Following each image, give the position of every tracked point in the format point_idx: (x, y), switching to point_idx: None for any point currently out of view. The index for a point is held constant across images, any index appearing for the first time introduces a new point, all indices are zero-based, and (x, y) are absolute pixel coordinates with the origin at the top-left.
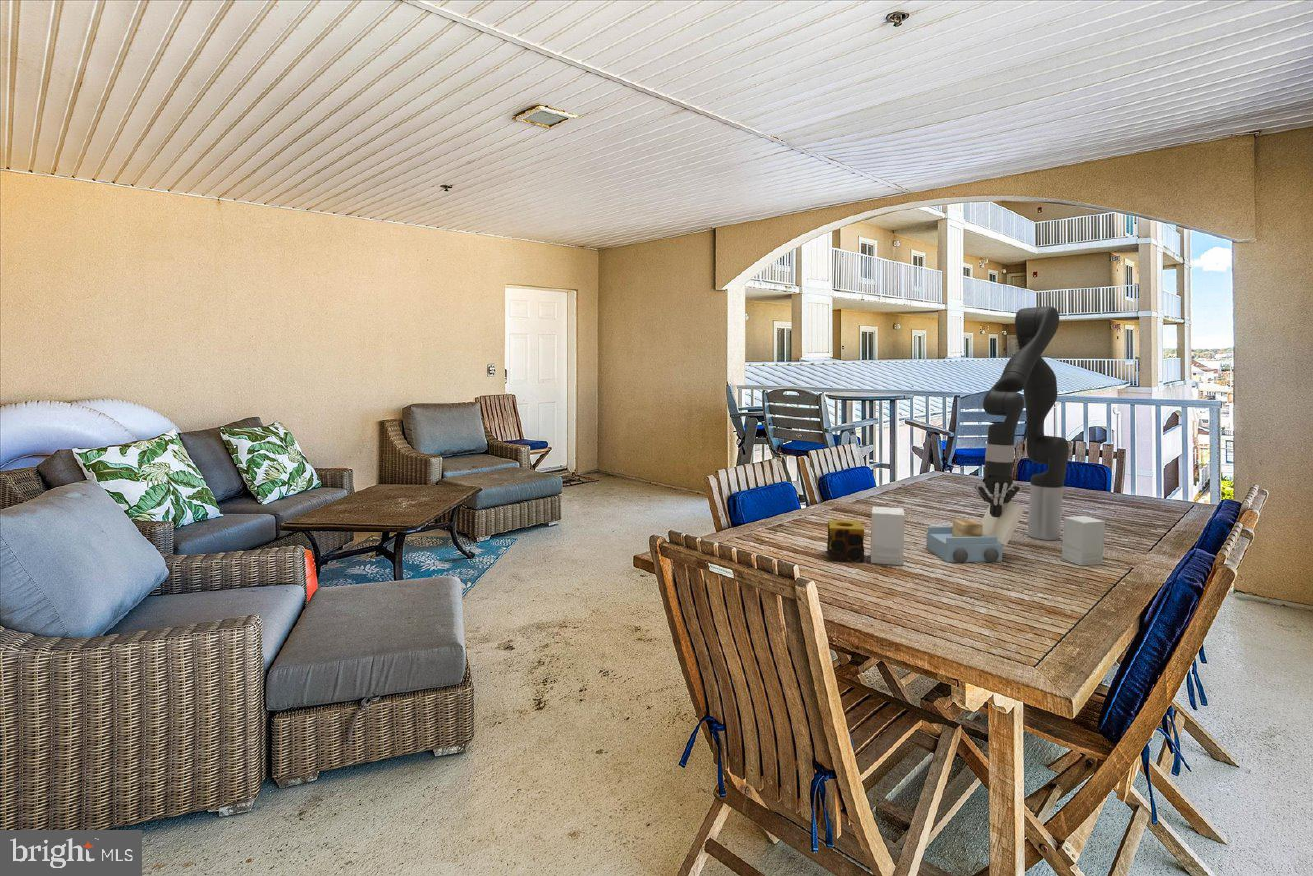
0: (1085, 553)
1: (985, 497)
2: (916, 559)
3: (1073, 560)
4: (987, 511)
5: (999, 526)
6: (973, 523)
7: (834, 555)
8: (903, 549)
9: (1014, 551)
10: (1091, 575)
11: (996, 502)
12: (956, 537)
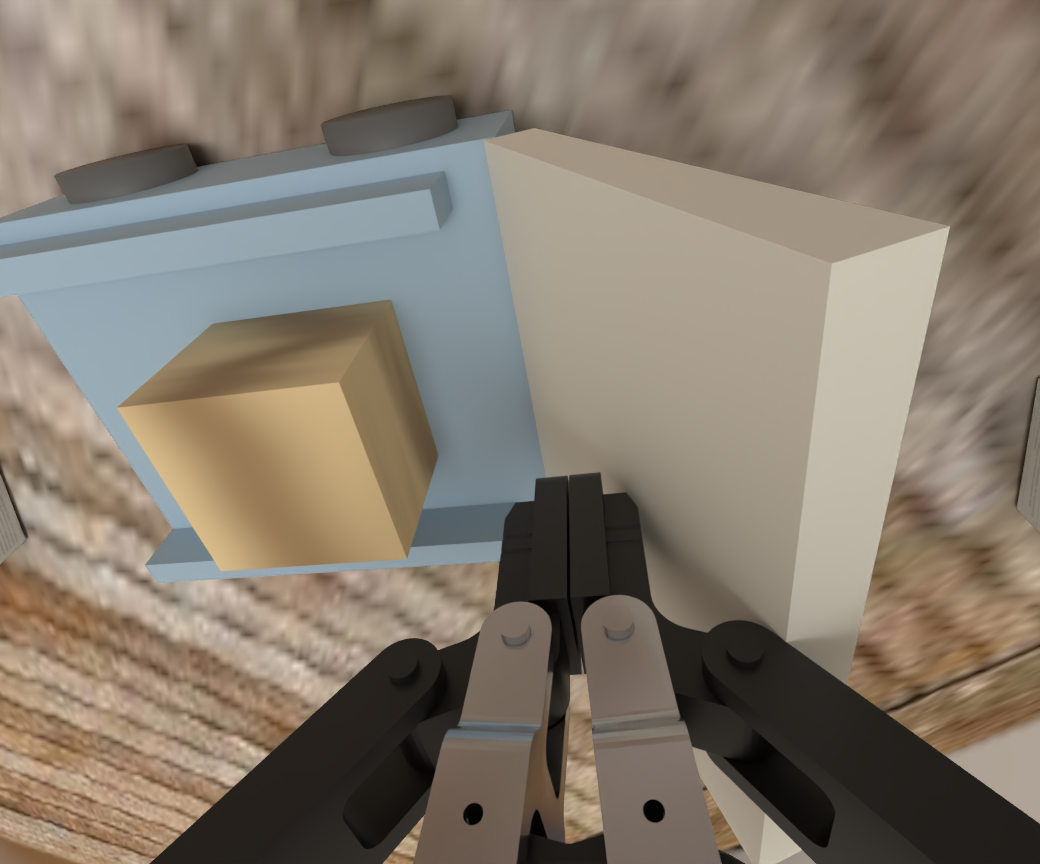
0: None
1: (349, 813)
2: (70, 443)
3: (1030, 477)
4: (598, 212)
5: None
6: (321, 538)
7: None
8: None
9: None
10: (922, 619)
11: (551, 722)
12: (215, 571)
